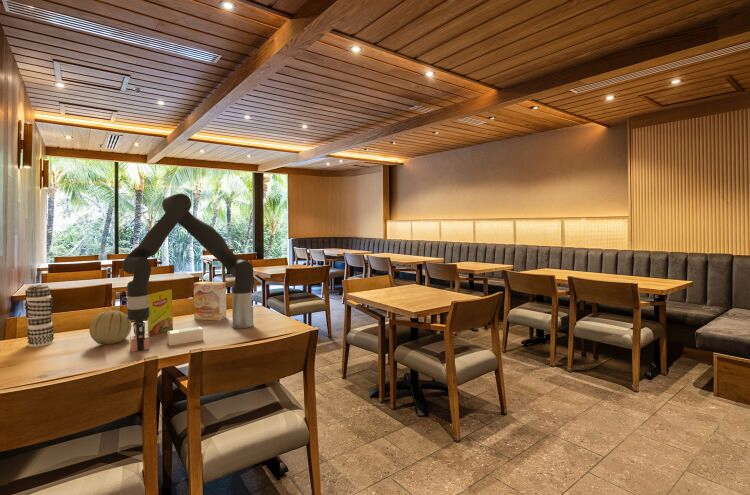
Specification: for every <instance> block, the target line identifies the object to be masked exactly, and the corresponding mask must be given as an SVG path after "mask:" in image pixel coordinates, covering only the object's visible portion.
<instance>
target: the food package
mask: <svg viewBox="0 0 750 495" xmlns="http://www.w3.org/2000/svg"><path fill="white" fill-rule="evenodd" d="M148 297H149V313H150V316H149V317H148V318H147V334H148V336H149V338H151V337H153V336H157V335H159V334H162V333H167V331H172V330H174V318H173V316H174V315H173V290H172V289H166V290H162V291H158V292H154V293H150V294H149V293H148Z"/></svg>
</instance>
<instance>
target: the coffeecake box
mask: <svg viewBox="0 0 750 495" xmlns="http://www.w3.org/2000/svg"><path fill="white" fill-rule="evenodd" d="M226 286H227V284H226V282H225V281H224V282H222V281H221V282H219V281H197V282H194V283H193V316H194V317H193V320H204V321H222V320H224V319H226V318H227V287H226Z"/></svg>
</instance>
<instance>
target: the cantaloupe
mask: <svg viewBox="0 0 750 495" xmlns="http://www.w3.org/2000/svg"><path fill="white" fill-rule="evenodd" d="M132 326H133V323H132V320H129V319H128V314H126V313H125V312H123V311H121V310H116V308H115V307H113V308H112V310H111V309H109V310H104V311H101V312H100V313H98V314H96V315H95V316H94V317H93V319H92V321H91V322H90V324H89V330H88V331H89V332H88V333H89V335H90V337H91V338H92V341H94V342H95V343H97V344H99V345H103V346H106V345H112V344H113V345H114V344H118V343H122V342H123V341H124V340H126V339H127V338H128V336H129V335H130V334H131V330H132Z"/></svg>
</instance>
